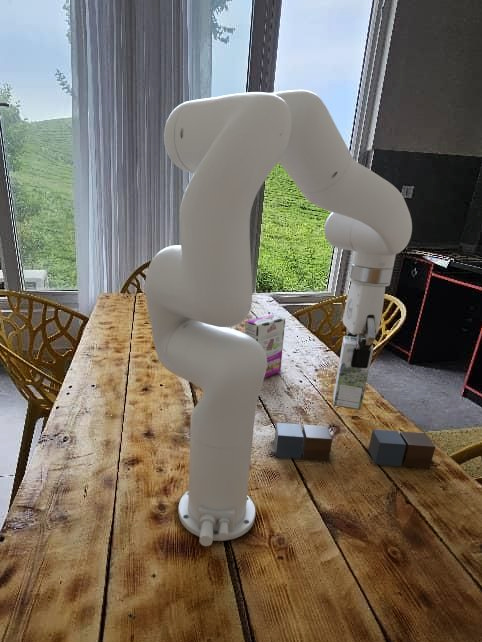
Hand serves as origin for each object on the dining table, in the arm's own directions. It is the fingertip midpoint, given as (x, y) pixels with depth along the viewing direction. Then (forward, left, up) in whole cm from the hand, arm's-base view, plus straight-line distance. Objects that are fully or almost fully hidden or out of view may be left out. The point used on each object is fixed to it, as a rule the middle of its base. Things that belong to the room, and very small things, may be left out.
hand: (354, 360), depth 93 cm
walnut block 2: (-10, -12, -17) cm, 23 cm away
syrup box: (0, 0, -10) cm, 10 cm away
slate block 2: (-10, -6, -17) cm, 21 cm away
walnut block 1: (-10, +8, -17) cm, 21 cm away
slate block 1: (-10, +13, -17) cm, 24 cm away
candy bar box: (+28, +17, -17) cm, 37 cm away
